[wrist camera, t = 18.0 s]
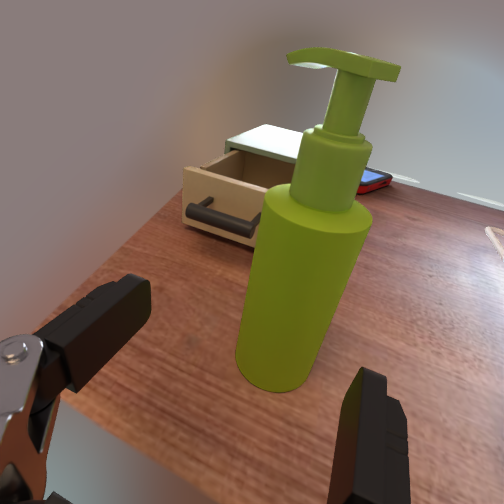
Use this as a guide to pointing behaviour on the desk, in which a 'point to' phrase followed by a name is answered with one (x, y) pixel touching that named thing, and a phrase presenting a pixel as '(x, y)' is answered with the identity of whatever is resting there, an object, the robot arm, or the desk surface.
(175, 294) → the desk surface
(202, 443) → the desk surface
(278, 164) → the drawer
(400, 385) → the desk surface
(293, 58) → the soap dispenser
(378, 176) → the game console
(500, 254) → the desk lamp
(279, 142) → the cabinet
